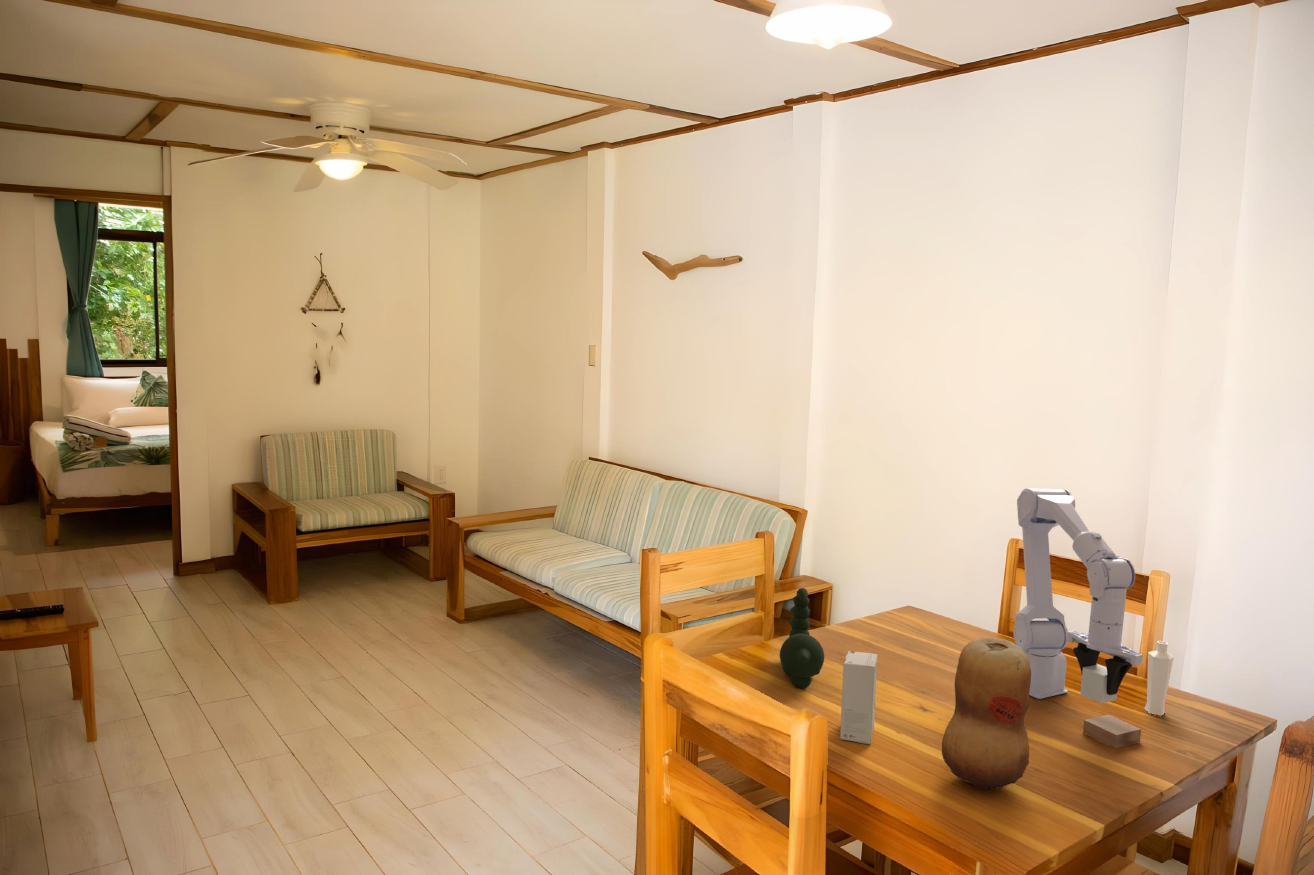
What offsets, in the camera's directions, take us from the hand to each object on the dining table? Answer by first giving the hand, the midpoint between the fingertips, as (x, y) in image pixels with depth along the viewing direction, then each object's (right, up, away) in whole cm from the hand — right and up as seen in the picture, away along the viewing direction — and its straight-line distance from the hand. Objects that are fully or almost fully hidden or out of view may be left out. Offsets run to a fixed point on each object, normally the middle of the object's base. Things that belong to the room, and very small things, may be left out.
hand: (1099, 688), depth 172 cm
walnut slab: (+2, -10, 0) cm, 10 cm away
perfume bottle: (+18, -9, +13) cm, 23 cm away
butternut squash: (-30, -11, -21) cm, 38 cm away
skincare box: (-48, -8, -3) cm, 48 cm away
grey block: (0, -2, 0) cm, 2 cm away
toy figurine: (-54, -4, +25) cm, 60 cm away
